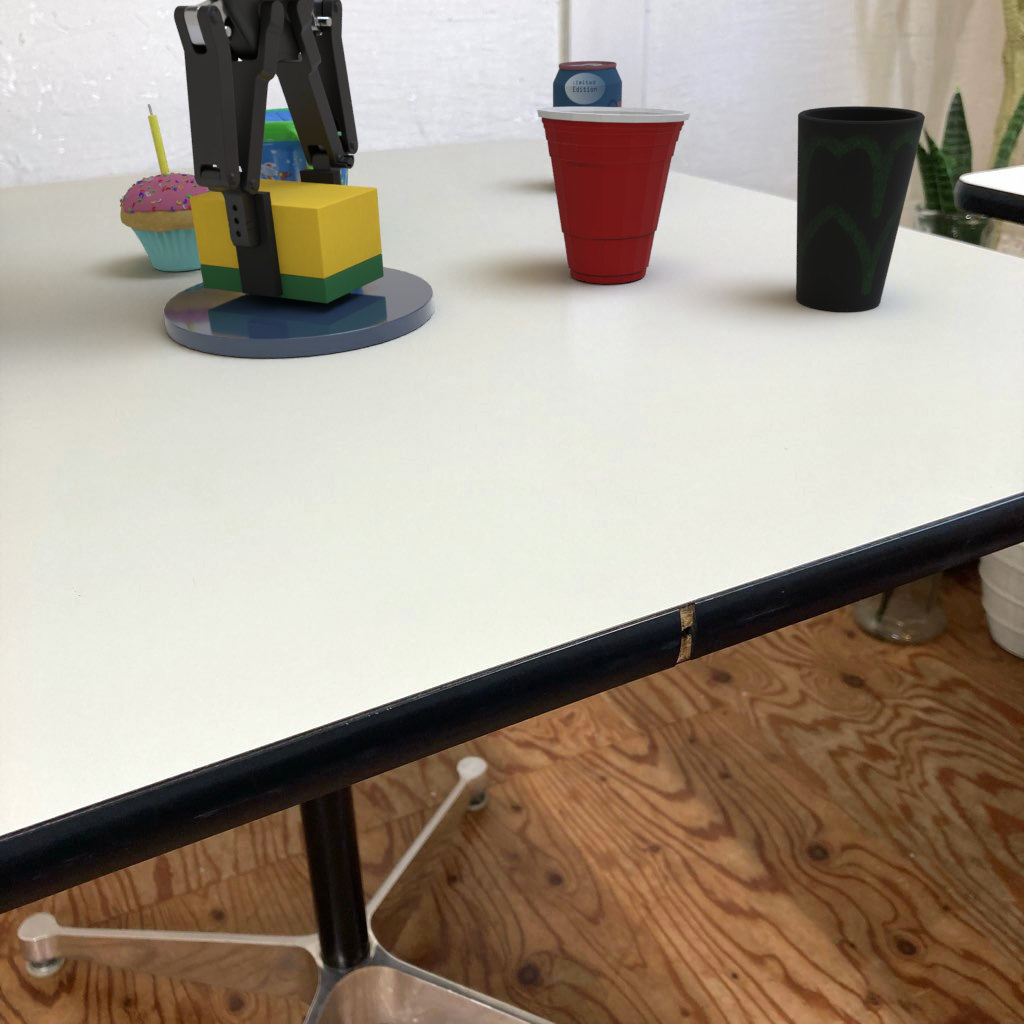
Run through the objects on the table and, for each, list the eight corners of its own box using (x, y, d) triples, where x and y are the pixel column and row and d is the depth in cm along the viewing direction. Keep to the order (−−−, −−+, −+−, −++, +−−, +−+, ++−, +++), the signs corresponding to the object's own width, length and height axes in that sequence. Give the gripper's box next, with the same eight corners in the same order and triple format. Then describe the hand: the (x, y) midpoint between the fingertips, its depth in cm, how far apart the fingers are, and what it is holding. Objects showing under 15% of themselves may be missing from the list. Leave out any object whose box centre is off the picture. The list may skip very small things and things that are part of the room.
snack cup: (232, 223, 98) (215, 107, 93) (343, 212, 101) (332, 99, 96) (255, 261, 84) (236, 129, 80) (382, 247, 88) (371, 119, 83)
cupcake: (114, 264, 85) (82, 106, 79) (211, 246, 89) (188, 96, 84) (157, 284, 79) (126, 116, 73) (258, 264, 84) (237, 104, 78)
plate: (106, 338, 68) (102, 320, 67) (274, 270, 82) (272, 254, 81) (340, 373, 61) (338, 353, 60) (478, 292, 75) (478, 276, 74)
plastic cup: (705, 266, 80) (716, 99, 74) (638, 301, 72) (645, 117, 66) (584, 250, 85) (585, 93, 80) (509, 281, 77) (505, 109, 72)
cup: (763, 305, 70) (779, 118, 65) (802, 279, 76) (821, 104, 70) (877, 322, 67) (906, 124, 61) (910, 293, 72) (939, 109, 67)
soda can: (600, 196, 104) (602, 67, 99) (541, 191, 108) (539, 65, 102) (631, 184, 110) (634, 61, 104) (573, 179, 113) (573, 59, 107)
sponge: (203, 287, 70) (188, 197, 68) (266, 263, 76) (255, 178, 73) (327, 303, 67) (317, 208, 64) (384, 276, 72) (377, 187, 69)
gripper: (184, -126, 51) (250, 327, 62) (393, -108, 67) (417, 249, 78) (70, -117, 54) (153, 314, 65) (297, -102, 70) (333, 242, 80)
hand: (297, 278), depth 71 cm, fingers closed on sponge, 7 cm apart
